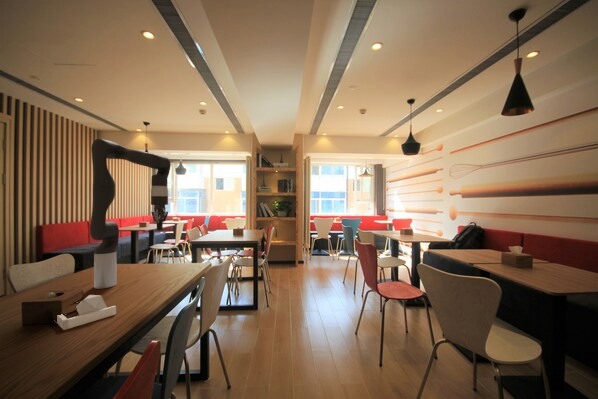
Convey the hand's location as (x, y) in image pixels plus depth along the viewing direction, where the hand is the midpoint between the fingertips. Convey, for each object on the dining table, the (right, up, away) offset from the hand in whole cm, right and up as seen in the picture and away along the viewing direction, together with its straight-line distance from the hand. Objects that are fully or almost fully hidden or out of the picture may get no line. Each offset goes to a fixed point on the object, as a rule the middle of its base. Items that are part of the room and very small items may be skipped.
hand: (159, 230), depth 127 cm
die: (-8, -29, -32) cm, 44 cm away
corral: (-11, -29, -30) cm, 43 cm away
